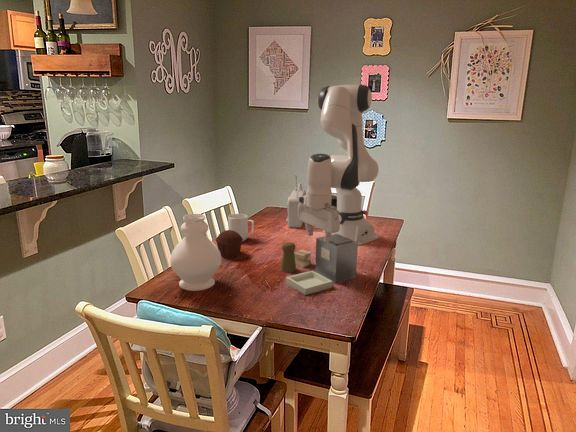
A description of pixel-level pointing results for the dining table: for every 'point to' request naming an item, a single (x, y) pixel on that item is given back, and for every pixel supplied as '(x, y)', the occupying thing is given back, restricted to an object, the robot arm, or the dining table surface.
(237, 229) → the mug
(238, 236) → the muffin
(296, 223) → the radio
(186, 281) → the decorative vase
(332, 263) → the box
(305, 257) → the maple block
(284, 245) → the cork
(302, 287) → the tray
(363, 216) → the robot arm
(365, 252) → the dining table surface
